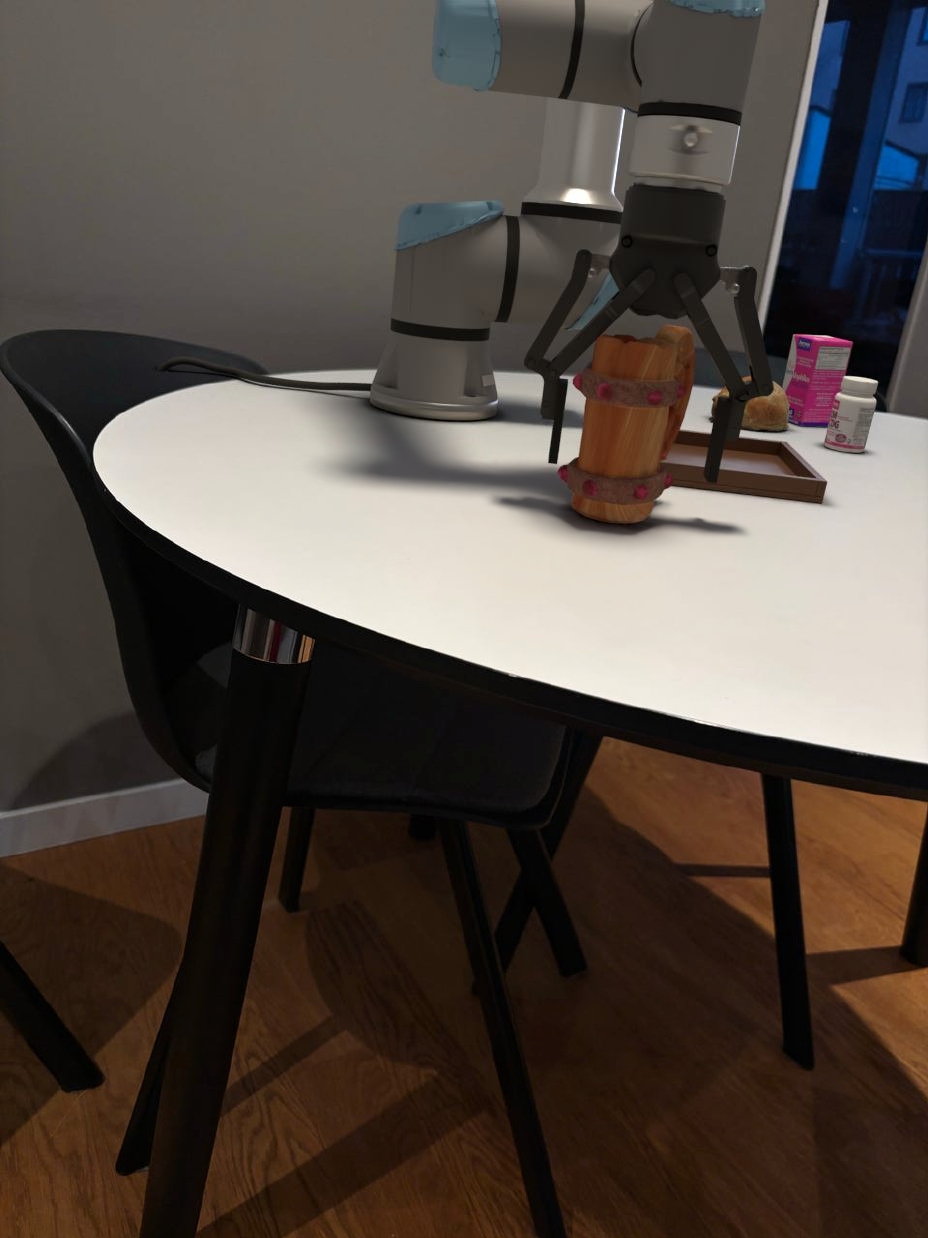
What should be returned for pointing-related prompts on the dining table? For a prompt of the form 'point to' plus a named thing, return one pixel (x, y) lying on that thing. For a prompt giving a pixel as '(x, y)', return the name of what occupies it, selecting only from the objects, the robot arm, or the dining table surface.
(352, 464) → the dining table surface
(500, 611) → the dining table surface
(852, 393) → the pill bottle
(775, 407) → the bread roll
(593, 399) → the mug
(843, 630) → the dining table surface
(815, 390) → the supplement box
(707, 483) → the tray
